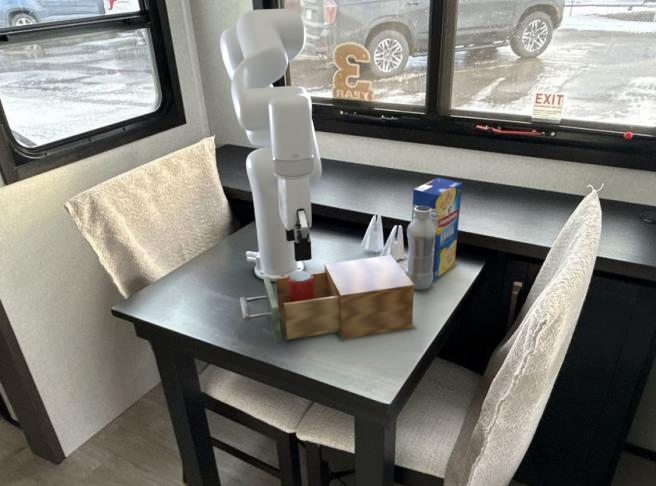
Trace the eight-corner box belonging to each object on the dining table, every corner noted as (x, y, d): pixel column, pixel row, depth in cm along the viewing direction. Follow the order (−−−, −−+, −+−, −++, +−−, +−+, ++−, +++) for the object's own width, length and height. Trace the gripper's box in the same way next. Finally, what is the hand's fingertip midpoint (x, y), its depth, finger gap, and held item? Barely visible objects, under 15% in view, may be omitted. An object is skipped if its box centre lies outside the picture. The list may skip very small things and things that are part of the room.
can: (293, 326, 116) (289, 283, 110) (288, 313, 120) (285, 271, 115) (317, 322, 117) (315, 279, 112) (312, 310, 121) (309, 268, 116)
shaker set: (359, 252, 151) (359, 214, 145) (368, 246, 153) (369, 209, 148) (396, 263, 144) (398, 224, 138) (405, 258, 147) (407, 219, 141)
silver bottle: (431, 294, 130) (437, 214, 120) (403, 291, 131) (406, 213, 121) (433, 281, 135) (439, 204, 125) (405, 279, 137) (409, 202, 126)
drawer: (247, 349, 111) (243, 312, 106) (241, 315, 122) (236, 280, 118) (344, 333, 115) (343, 297, 110) (329, 302, 126) (328, 268, 122)
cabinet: (341, 339, 115) (340, 295, 109) (325, 304, 127) (324, 263, 121) (412, 327, 118) (414, 284, 112) (389, 295, 130) (391, 254, 125)
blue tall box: (408, 273, 139) (413, 189, 128) (431, 257, 147) (437, 177, 135) (432, 280, 136) (438, 195, 124) (454, 264, 143) (462, 182, 132)
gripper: (266, 154, 108) (273, 235, 117) (280, 181, 93) (287, 271, 102) (304, 151, 109) (308, 231, 118) (323, 177, 95) (326, 266, 104)
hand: (298, 249), depth 110 cm, fingers open, 9 cm apart
